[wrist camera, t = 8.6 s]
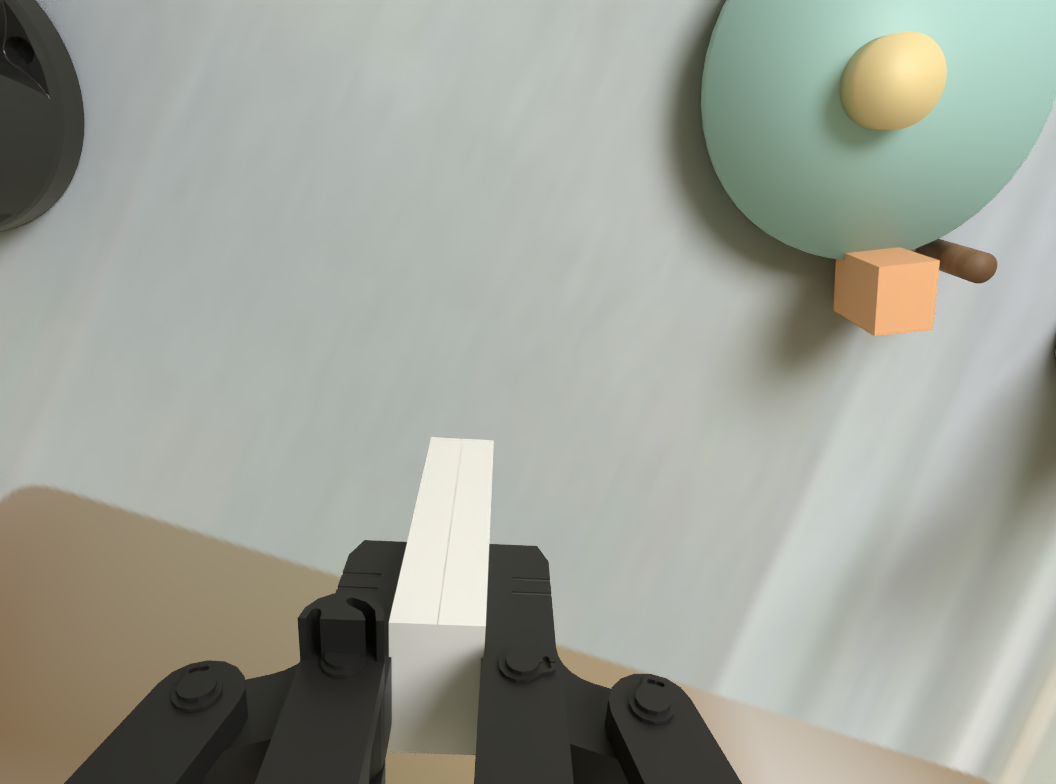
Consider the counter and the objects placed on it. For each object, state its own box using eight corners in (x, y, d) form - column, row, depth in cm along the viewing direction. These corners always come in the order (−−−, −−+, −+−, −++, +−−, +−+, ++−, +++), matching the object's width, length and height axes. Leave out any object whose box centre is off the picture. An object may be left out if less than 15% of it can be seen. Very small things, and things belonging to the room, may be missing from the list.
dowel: (910, 256, 42) (959, 273, 37) (928, 232, 41) (980, 247, 37) (931, 270, 42) (982, 288, 37) (949, 246, 42) (1003, 262, 37)
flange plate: (705, 324, 42) (729, 351, 37) (696, -95, 34) (725, -130, 29) (1015, 291, 41) (1080, 313, 36) (1075, -143, 34) (1168, -187, 29)
